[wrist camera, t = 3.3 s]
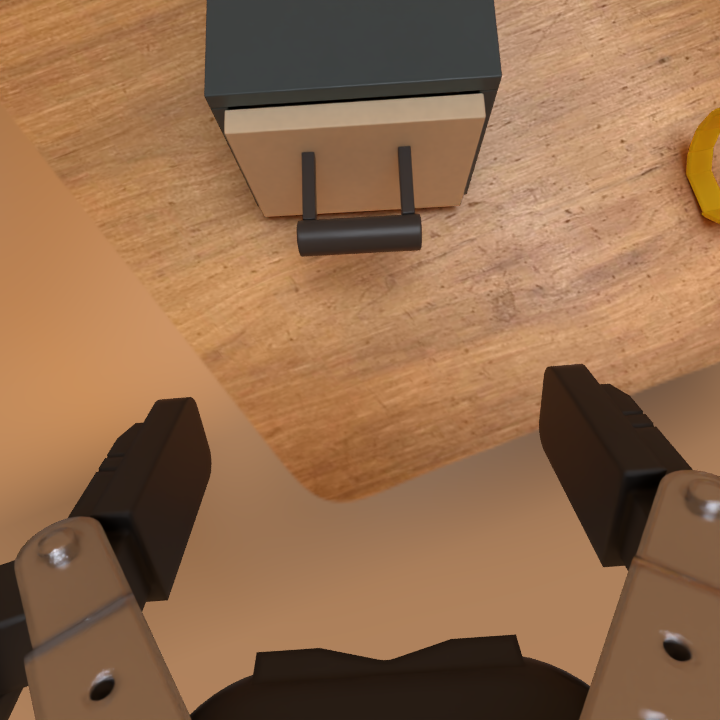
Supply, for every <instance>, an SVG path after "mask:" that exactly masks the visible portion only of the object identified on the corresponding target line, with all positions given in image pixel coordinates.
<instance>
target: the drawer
mask: <svg viewBox="0 0 720 720" xmlns="http://www.w3.org/2000/svg"><path fill="white" fill-rule="evenodd" d="M459 94H460V92H446V93H431V94H416V95H401V96H386V97H371V98H356V99H341V100H326V101H311V102H295V103H280V104H265V105H250V109H237V110H226V111H225V121H224V134H225V136H226V138H227V140H228V142H229V144H230V146H231V148H232V150H233V152H234V154H235V157H236V159H237V161H238V163H239V165H240V167H241V169H242V171H243V173H244V175H245V177H246V179H247V181H248V183H249V186H250V188H251V190H252V192H253V194H254V196H255V198H256V200H257V202H258V204H259V206H260V208H261V210H262V213H263V215H264V216H265V217H271V216H288V215H303V220H301V221H298V223H297V243H298V249H299V253H300V255H301V256H302V257H304V256H322V255H340V254H359V253H377V252H395V251H413V250H420V249H421V245H422V226H421V217H420V214H415V208H427V207H444V206H459V205H460V204H461V201H462V197H463V194H464V190H465V187H466V183H467V180H468V176H469V173H470V169H471V166H472V163H473V159H474V156H475V152H476V149H477V145H478V142H479V138H480V135H481V131H482V128H483V124H484V121H485V117H486V113H485V103H484V95H483V94H482V93H480V94H465V95H459ZM392 209H401V215H388V216H371V217H354V218H336V219H319V220H317V214H323V213H340V212H357V211H375V210H392Z"/></svg>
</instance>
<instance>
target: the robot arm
mask: <svg viewBox="0 0 720 720" xmlns="http://www.w3.org/2000/svg"><path fill="white" fill-rule="evenodd" d="M539 433H540V439H541V443H542V446H543V449H544V451H545V453H546V455H547V457H548V459H549V461H550V463H551V465H552V467H553V469H554V471H555V473H556V475H557V477H558V479H559V481H560V483H561V485H562V487H563V489H564V491H565V493H566V495H567V497H568V499H569V501H570V503H571V505H572V507H573V509H574V511H575V512H576V514H577V516H578V518H579V520H580V522H581V524H582V526H583V528H584V530H585V532H586V534H587V536H588V538H589V540H590V542H591V544H592V546H593V548H594V550H595V552H596V554H597V556H598V558H599V560H600V562H601V564H602V566H603V567H612V566H626V568H627V570H628V574H627V577H626V580H625V583H624V586H623V589H622V592H621V595H620V599H619V602H618V604H617V607H616V610H615V613H614V616H613V619H612V622H611V626H610V628H609V631H608V634H607V637H606V641H605V644H604V647H603V649H602V652H601V655H600V659H599V662H598V664H597V667H596V671H595V673H594V677H593V680H592V683H591V686H589V685H588V684H586V683H585V682H583V681H582V680H580V679H578V678H577V677H575V676H573V675H571V674H570V673H568V672H566V671H564V670H562V669H560V668H557V667H555V666H553V665H550V664H548V663H545V662H541V661H538V660H535V659H532V658H527V657H523V656H522V654H521V651H520V647H519V644H518V641H517V637H516V635H505V636H504V635H503V636H489V637H475V638H462V639H461V638H460V639H450V640H447V641H445V642H442V643H439V644H436V645H433V646H430V647H427V648H424V649H421V650H418V651H415V652H412V653H409V654H406V655H404V656H401V657H398V658H395V659H391V660H377V659H372V658H367V657H362V656H357V655H352V654H347V653H342V652H337V651H332V650H327V649H322V648H314V649H301V650H286V651H271V652H258V653H257V655H256V661H255V667H254V673H253V675H252V676H249V677H246V678H244V679H241V680H239V681H237V682H235V683H233V684H231V685H229V686H227V687H226V688H224V689H222V690H221V691H219V692H218V693H216V694H214V695H213V696H212V697H211V698H209V699H208V700H207V701H205V702H204V703H203V704H201V705H200V706H199V707H198V708H197V709H196V710H195V711H194V712H193V713H191V714H190V715H189V712H188V710H187V708H186V706H185V704H184V702H183V700H182V697H181V695H180V693H179V691H178V689H177V687H176V685H175V682H174V680H173V678H172V676H171V674H170V672H169V669H168V667H167V665H166V663H165V661H164V659H163V656H162V654H161V652H160V650H159V648H158V646H157V644H156V641H155V639H154V637H153V635H152V633H151V631H150V628H149V626H148V624H147V622H146V620H145V618H144V616H143V613H142V610H143V608H144V605H145V603H146V602H150V601H163V600H168V598H169V595H170V592H171V589H172V586H173V583H174V580H175V577H176V574H177V572H178V569H179V566H180V563H181V560H182V557H183V554H184V551H185V548H186V545H187V542H188V539H189V536H190V533H191V531H192V528H193V525H194V522H195V519H196V516H197V513H198V510H199V507H200V504H201V501H202V498H203V495H204V492H205V490H206V487H207V484H208V481H209V478H210V473H211V454H210V449H209V445H208V442H207V438H206V435H205V432H204V428H203V425H202V421H201V418H200V414H199V411H198V407H197V404H196V402H195V400H194V399H193V398H191V397H186V398H174V399H162V400H158V401H156V402H155V404H154V405H153V407H152V409H151V411H150V412H149V414H148V416H147V418H146V419H145V421H144V423H135V424H134V425H133V426H132V427H131V428H129V429H128V430H127V431H126V432H125V433H123V434H122V435H121V436H120V437H119V438H117V440H116V442H115V443H114V445H113V447H112V448H111V450H110V451H109V453H108V454H107V456H108V457H107V458H105V459H104V461H103V462H102V464H101V466H100V467H99V472H96V474H95V475H94V477H93V478H92V480H91V482H90V483H89V485H88V487H87V488H86V490H85V491H84V493H83V494H82V496H81V497H80V499H79V501H78V502H77V504H76V505H75V507H74V509H73V510H72V512H71V514H70V515H69V517H68V518H67V519H64V520H61V521H58V522H56V523H54V524H51V525H50V526H48V527H46V528H44V529H43V530H41V531H40V532H38V533H37V534H35V535H34V536H33V537H32V538H31V539H30V540H29V541H28V542H26V544H25V545H24V546H23V547H22V548H21V550H20V552H19V553H18V555H17V558H16V559H15V560H14V561H11V562H9V563H6V564H3V565H0V720H8V719H9V717H10V715H11V712H12V710H13V708H14V706H15V704H16V702H17V700H18V698H19V695H20V693H21V691H22V689H23V688H24V687H26V686H29V690H30V694H31V699H32V705H33V709H34V714H35V719H36V720H720V476H717V475H714V474H711V473H707V472H702V471H695V470H692V468H691V467H690V466H689V465H688V464H687V463H686V461H685V460H684V459H683V458H682V456H681V455H680V454H679V453H678V452H677V451H676V449H675V448H674V447H673V446H672V445H671V444H670V442H669V441H668V440H667V439H666V438H665V437H664V435H663V434H662V433H661V432H660V431H659V430H658V428H657V427H654V426H653V422H652V421H651V420H650V419H649V418H648V417H647V415H646V414H643V411H642V410H641V408H639V406H638V405H637V404H636V403H635V401H634V400H633V399H632V398H631V397H630V396H629V395H627V394H626V393H624V392H622V391H621V390H619V389H617V388H616V387H614V386H612V385H611V384H599V383H598V382H597V380H596V379H595V378H594V376H593V375H592V374H591V373H590V371H589V370H588V369H587V368H586V366H585V365H583V364H574V365H562V366H550V367H547V368H546V370H545V373H544V380H543V390H542V400H541V409H540V419H539Z"/></svg>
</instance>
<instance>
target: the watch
mask: <svg viewBox="0 0 720 720" xmlns="http://www.w3.org/2000/svg"><path fill="white" fill-rule="evenodd" d="M719 134H720V108H717V109H715V110H714V111H712V112H711V113H710V114H709V115H708V116H707V117H706V118H705V119H704V120H703V121H702V122H701V124H700V125H699V126H698V128H697V129H696V131H695V134H694V136H693V139H692V141H691V144H690V146H689V149H688V150H689V152H688V153H687V166H686V175H687V177H688V180H689V182H690V184H691V186H692V189H693V191H694V193H695V196H696V198H697V200H698V203H699V205H700V207H701V210H702V212H703V213H701V214H702V216H703V215H704V217H705V218H708V219H710V220H712V221H714V222H716V223H718V224H720V188H719V186H718V184H717V182H716V180H715V177H714V175H713V173H712V171H711V169H712V158H713V147H714V145H715V143H716V141H717V138H718V136H719Z"/></svg>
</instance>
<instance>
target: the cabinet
mask: <svg viewBox="0 0 720 720" xmlns="http://www.w3.org/2000/svg"><path fill="white" fill-rule="evenodd" d="M501 77H502V72H501V62H500V53H499V44H498V35H497V25H496V16H495V7H494V0H207V13H206V52H205V90H204V96H205V98H206V100H207V102H208V104H209V107H210V108H211V110H212V112H213V114H214V117H215V119H216V121H217V123H218V125H219V127H220V129H221V131H222V133H223V135H224V137H225V139H226V141H227V143H228V145H229V147H230V149H231V151H232V153H233V156H234V158H235V160H236V162H237V164H238V166H239V168H240V170H241V172H242V174H243V176H244V178H245V180H246V182H247V184H248V186H249V183H248V181H247V179H246V177H245V175H244V173H243V171H242V169H241V167H240V165H239V163H238V161H237V159H236V157H235V154H234V152H233V150H232V148H231V146H230V144H229V142H228V140H227V138H226V136H225V134H224V121H225V111H226V110H237V109H250V105H265V104H280V103H295V102H311V101H326V100H341V99H356V98H371V97H386V96H401V95H416V94H431V93H446V92H460V94H459V95H465V94H480V93H482V94H483V95H484V103H485V113H486V117H485V121H484V124H483V128H482V131H481V135H480V138H479V142H478V145H477V149H476V152H475V156H474V159H473V163H472V166H471V169H470V173H469V176H468V180H467V183H466V187H465V190H464V194H467V191H468V188H469V184H470V181H471V177H472V174H473V171H474V167H475V164H476V161H477V157H478V154H479V151H480V147H481V144H482V141H483V137H484V134H485V131H486V127H487V124H488V121H489V117H490V114H491V111H492V107H493V104H494V101H495V97H496V94H497V91H498V87H499V84H500V81H501ZM249 188H250V186H249ZM250 190H251V188H250ZM251 193H252V195H253V197H254V199H255V201H256V203H257V205H258V206H259V204H258V202H257V200H256V198H255V196H254V194H253V192H252V190H251Z"/></svg>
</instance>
